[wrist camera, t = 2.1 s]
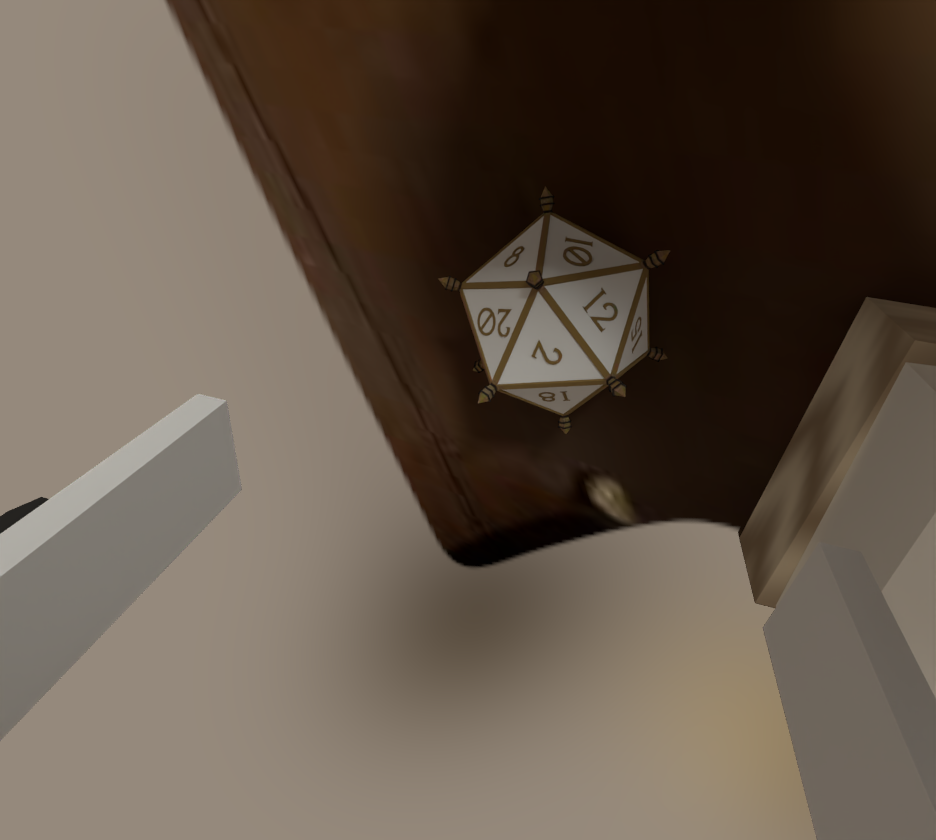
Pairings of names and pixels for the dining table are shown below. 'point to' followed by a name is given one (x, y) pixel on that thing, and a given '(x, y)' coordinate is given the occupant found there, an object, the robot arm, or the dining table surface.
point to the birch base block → (831, 437)
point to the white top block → (895, 510)
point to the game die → (558, 315)
